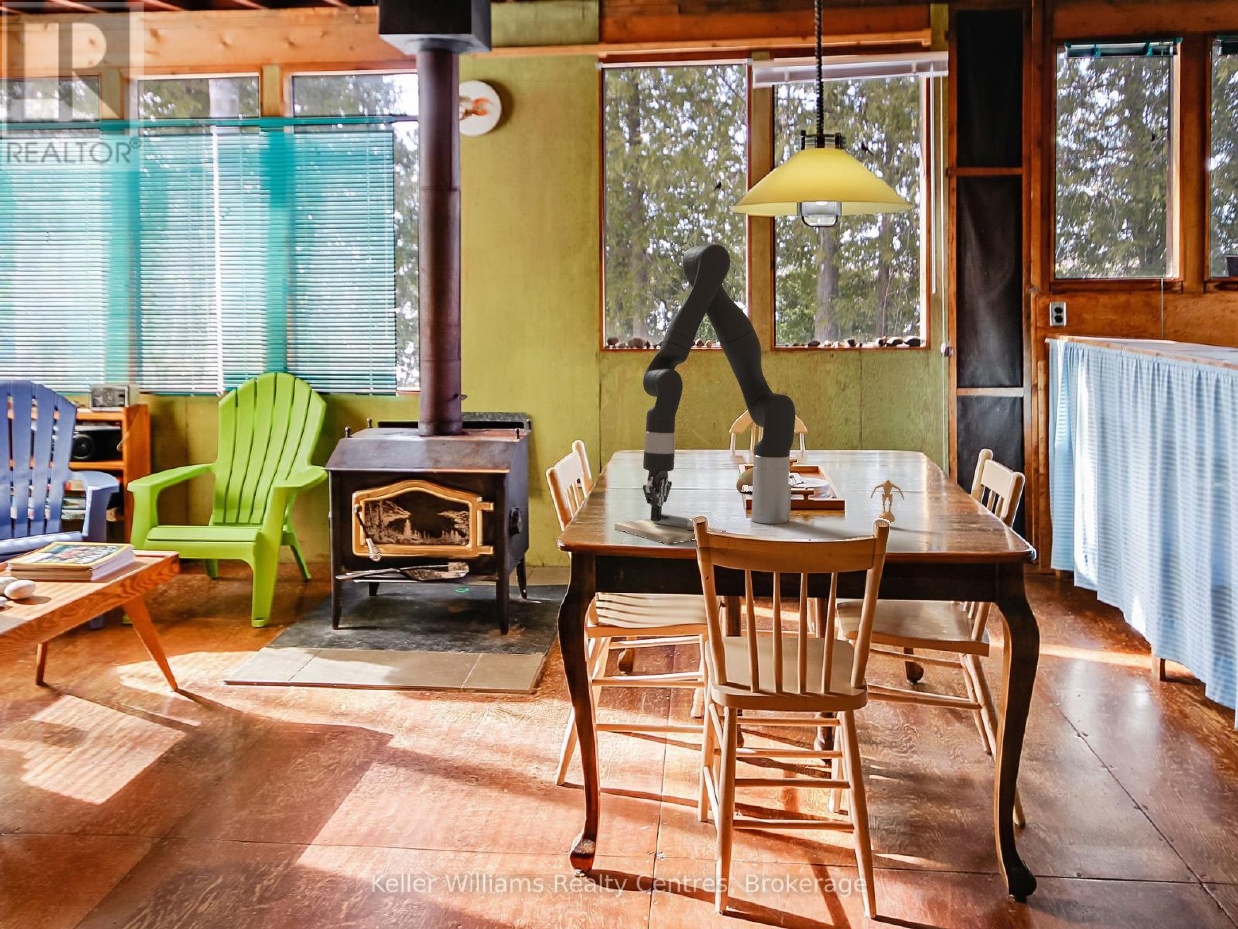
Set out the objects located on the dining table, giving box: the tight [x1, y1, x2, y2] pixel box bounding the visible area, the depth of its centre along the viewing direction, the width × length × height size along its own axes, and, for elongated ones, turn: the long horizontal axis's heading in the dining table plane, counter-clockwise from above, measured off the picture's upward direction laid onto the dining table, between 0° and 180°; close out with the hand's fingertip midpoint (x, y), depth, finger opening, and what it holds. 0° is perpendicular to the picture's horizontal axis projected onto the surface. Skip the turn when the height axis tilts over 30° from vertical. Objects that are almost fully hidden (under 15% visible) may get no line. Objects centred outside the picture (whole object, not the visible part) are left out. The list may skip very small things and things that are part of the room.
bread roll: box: [735, 467, 753, 492], centre depth 334 cm, size 10×15×8 cm, turn 93°
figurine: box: [870, 479, 905, 523], centre depth 284 cm, size 8×6×12 cm
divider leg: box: [652, 513, 695, 530], centre depth 271 cm, size 14×3×2 cm, turn 47°
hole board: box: [614, 518, 727, 545], centre depth 272 cm, size 18×21×2 cm
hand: (655, 520), depth 272 cm, fingers closed
